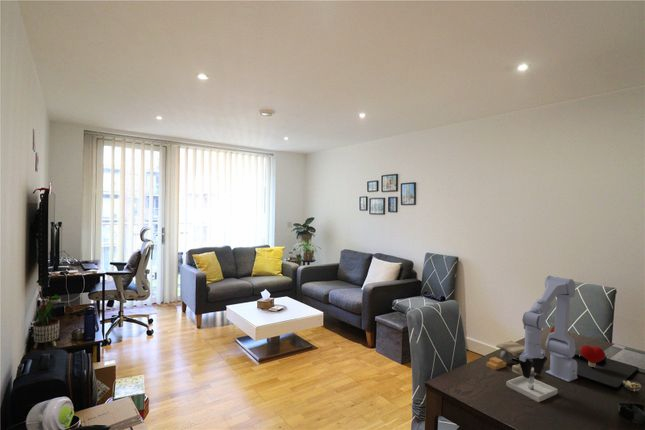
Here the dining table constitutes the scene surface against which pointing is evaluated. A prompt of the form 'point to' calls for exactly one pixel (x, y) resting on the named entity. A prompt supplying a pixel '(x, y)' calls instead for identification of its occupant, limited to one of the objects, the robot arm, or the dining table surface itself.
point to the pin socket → (518, 370)
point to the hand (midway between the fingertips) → (531, 375)
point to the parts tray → (538, 394)
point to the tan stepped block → (495, 363)
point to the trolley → (510, 350)
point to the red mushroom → (592, 354)
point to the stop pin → (531, 382)
